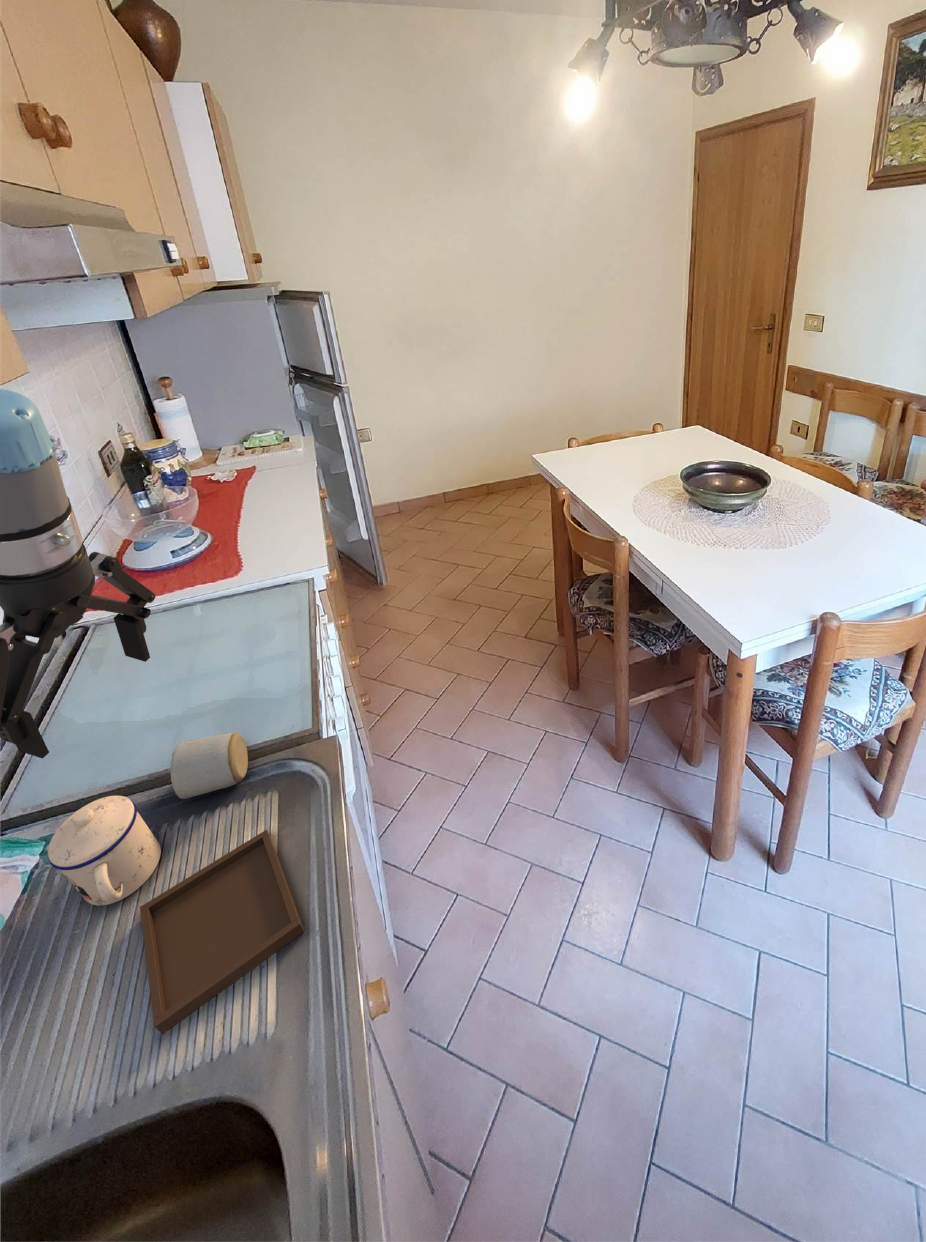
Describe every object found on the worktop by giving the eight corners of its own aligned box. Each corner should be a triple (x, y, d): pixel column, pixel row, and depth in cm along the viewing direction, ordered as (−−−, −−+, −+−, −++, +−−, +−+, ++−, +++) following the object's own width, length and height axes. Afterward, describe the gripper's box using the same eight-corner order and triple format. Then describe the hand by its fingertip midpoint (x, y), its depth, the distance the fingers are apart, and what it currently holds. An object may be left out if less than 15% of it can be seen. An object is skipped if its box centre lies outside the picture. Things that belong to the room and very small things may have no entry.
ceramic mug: (246, 792, 83) (228, 756, 80) (184, 811, 82) (162, 775, 78) (256, 736, 93) (240, 701, 89) (200, 752, 91) (181, 717, 87)
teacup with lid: (82, 866, 76) (36, 810, 70) (160, 823, 80) (123, 768, 75) (82, 948, 67) (30, 892, 62) (170, 895, 72) (129, 839, 66)
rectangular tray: (146, 915, 70) (139, 907, 69) (271, 837, 77) (266, 829, 76) (161, 1035, 59) (154, 1027, 59) (304, 932, 67) (300, 923, 66)
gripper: (-77, 663, 44) (13, 814, 55) (170, 498, 65) (198, 633, 76) (-165, 635, 44) (-57, 791, 56) (108, 481, 65) (145, 617, 77)
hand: (90, 700), depth 66 cm, fingers open, 13 cm apart
